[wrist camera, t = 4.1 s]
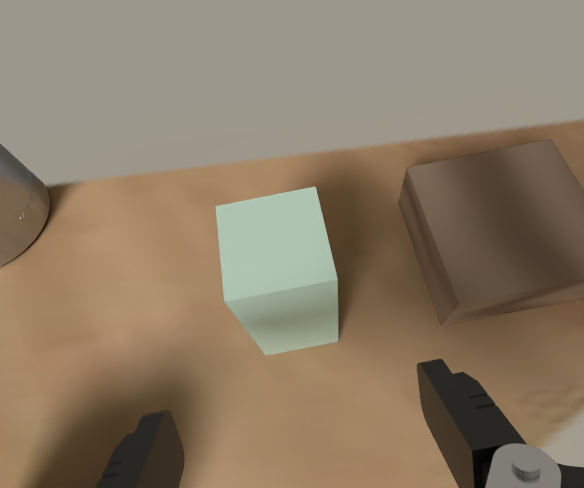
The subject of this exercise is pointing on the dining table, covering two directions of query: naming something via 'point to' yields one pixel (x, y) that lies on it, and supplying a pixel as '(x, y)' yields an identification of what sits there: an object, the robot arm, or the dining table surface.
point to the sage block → (279, 270)
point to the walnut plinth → (497, 230)
